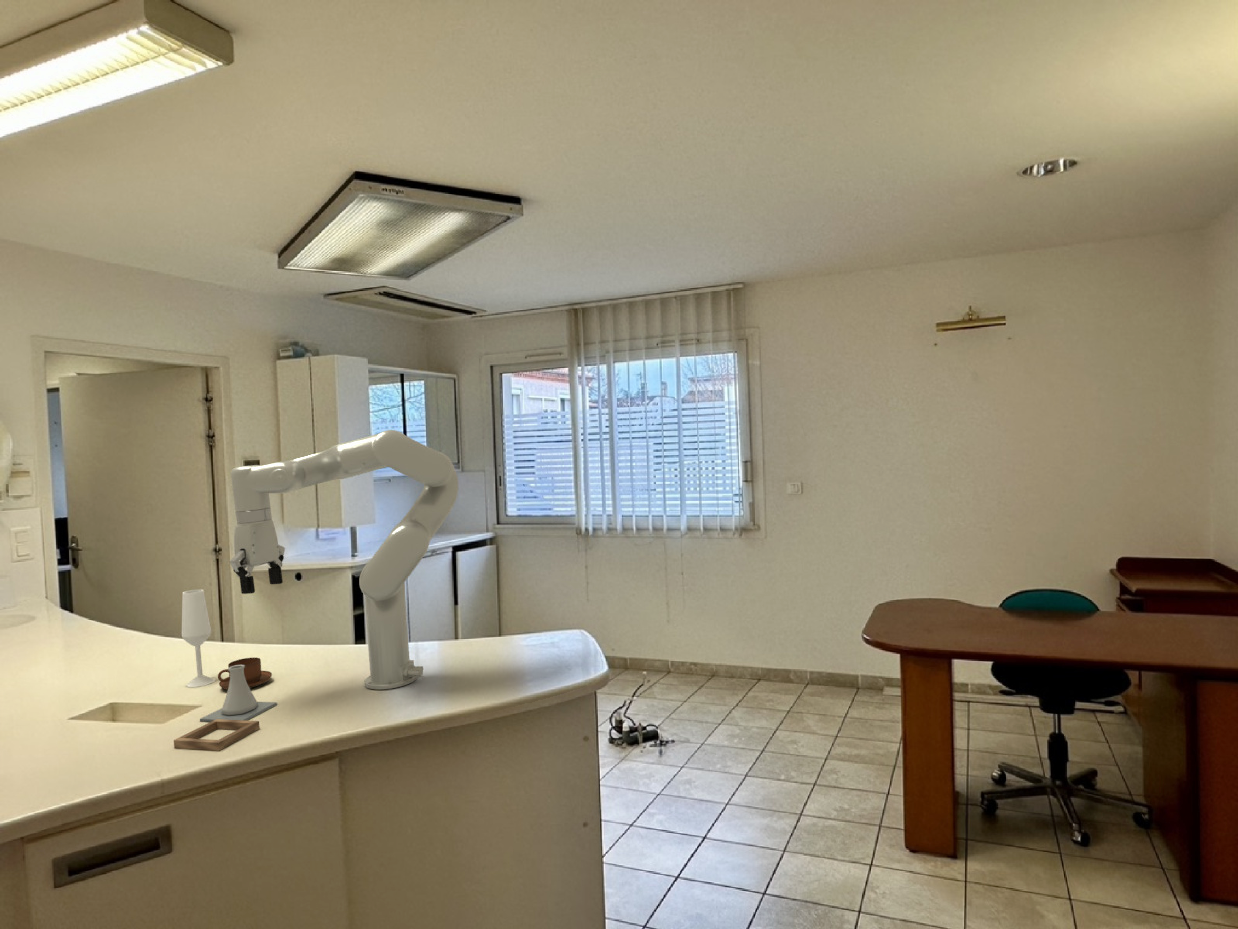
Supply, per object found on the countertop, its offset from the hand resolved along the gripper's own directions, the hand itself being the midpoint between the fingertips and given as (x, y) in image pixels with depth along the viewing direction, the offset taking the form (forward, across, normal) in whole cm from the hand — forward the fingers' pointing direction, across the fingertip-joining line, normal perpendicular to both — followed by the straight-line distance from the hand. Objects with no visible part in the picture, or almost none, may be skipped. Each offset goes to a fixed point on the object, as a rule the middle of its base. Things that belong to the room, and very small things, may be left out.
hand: (262, 588), depth 175 cm
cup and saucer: (+26, -8, -15) cm, 31 cm away
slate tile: (+26, +10, -2) cm, 28 cm away
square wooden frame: (+26, +24, +4) cm, 35 cm away
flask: (+26, +10, -1) cm, 28 cm away
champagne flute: (+26, -9, -29) cm, 40 cm away
